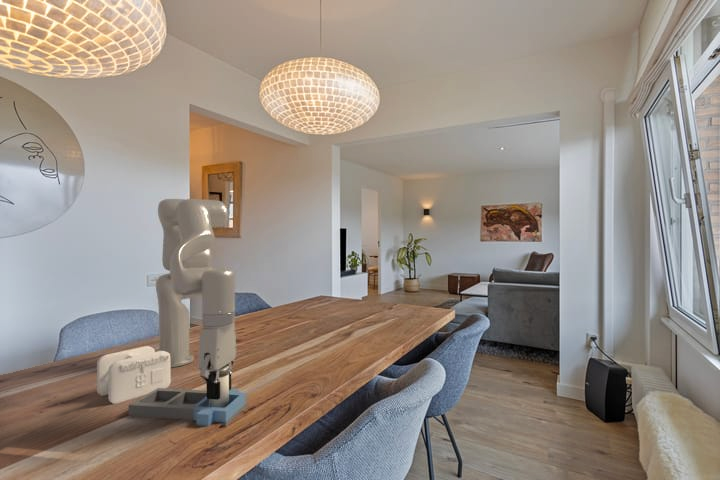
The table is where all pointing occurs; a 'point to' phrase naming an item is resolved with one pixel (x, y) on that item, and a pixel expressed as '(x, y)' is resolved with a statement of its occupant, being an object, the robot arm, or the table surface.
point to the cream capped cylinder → (222, 388)
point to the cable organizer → (132, 373)
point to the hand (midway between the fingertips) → (219, 393)
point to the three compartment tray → (187, 406)
